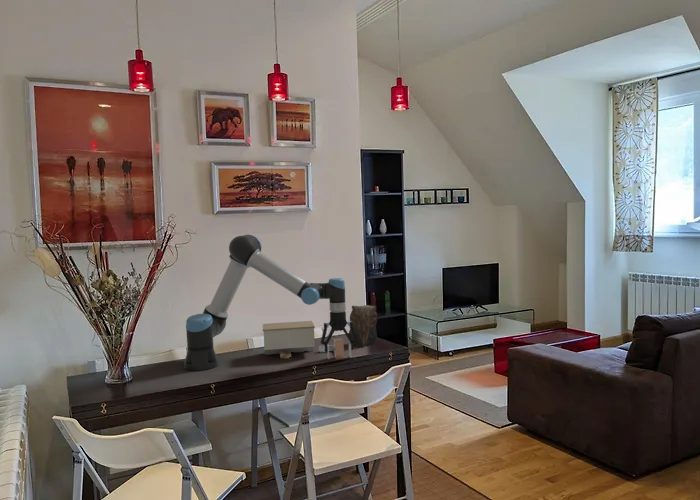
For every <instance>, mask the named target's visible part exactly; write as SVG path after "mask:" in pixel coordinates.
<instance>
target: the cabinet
mask: <svg viewBox="0 0 700 500" xmlns="http://www.w3.org/2000/svg"><path fill="white" fill-rule="evenodd" d="M315 326H316V325H315V324H314V322H313V321H312V320H304V321H303V320H302V321H300V320H299V321H288V322H287V321H286V322H271V323H262V332H263V347H264V348H263V351H264V355H278V354H279V355H280V352H286V351H290V352H294V353H305V352H304V351H308V352H313V351H314V350H313V349H314V347H316V345H315V343H316V342H315V328H316V327H315Z"/></svg>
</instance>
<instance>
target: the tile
mask: <svg viewBox="0 0 700 500" xmlns="http://www.w3.org/2000/svg"><path fill="white" fill-rule="evenodd" d="M289 357H291V358H292V353H291V352H290V351H286V352H280V354H279V358H280V359H281V358H284V359H290V358H289Z"/></svg>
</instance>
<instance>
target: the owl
mask: <svg viewBox="0 0 700 500" xmlns="http://www.w3.org/2000/svg"><path fill="white" fill-rule="evenodd" d="M350 321H352V322H353V329H354V333H355V336H356V339H357V342H354V343H353V344H354V345H353V346H357V345H358V346H357V347H360V346H362V348H366V347H369V346H373V345H374V344H376V340H377V338H378V332H377V327H376V326H377V322H378V313H377V305H370V304H365V305H352V306H351V312H350V314H349V322H350ZM348 334H349V336H350V337H351V339H352V340H353V336H352V333H351V330H350V329H349V331H348ZM365 346H366V347H365Z"/></svg>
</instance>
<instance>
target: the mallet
mask: <svg viewBox="0 0 700 500" xmlns="http://www.w3.org/2000/svg"><path fill="white" fill-rule="evenodd" d="M344 340H345V339H344V338H341V337H340V338H334V339H333V344H329V351H333V353H334V359H335V358H336V359H335V360H344V359H345V346H344V345H345V342H344ZM319 352H320V353H326V352H325V345H318V353H319Z"/></svg>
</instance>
